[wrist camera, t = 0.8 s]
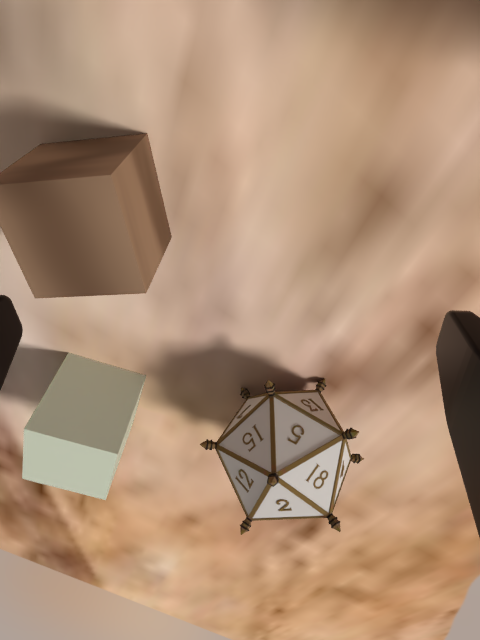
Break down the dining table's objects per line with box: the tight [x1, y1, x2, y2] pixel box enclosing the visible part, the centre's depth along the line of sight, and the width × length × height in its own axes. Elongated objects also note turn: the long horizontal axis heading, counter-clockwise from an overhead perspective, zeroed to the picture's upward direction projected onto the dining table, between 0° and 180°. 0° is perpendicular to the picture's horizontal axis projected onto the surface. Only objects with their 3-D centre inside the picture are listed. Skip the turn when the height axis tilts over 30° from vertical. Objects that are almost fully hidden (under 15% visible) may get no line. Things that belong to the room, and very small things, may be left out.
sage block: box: [22, 353, 146, 500], centre depth 28 cm, size 5×5×6 cm
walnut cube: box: [0, 133, 171, 298], centre depth 20 cm, size 5×5×5 cm
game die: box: [200, 379, 364, 535], centre depth 26 cm, size 9×8×10 cm
